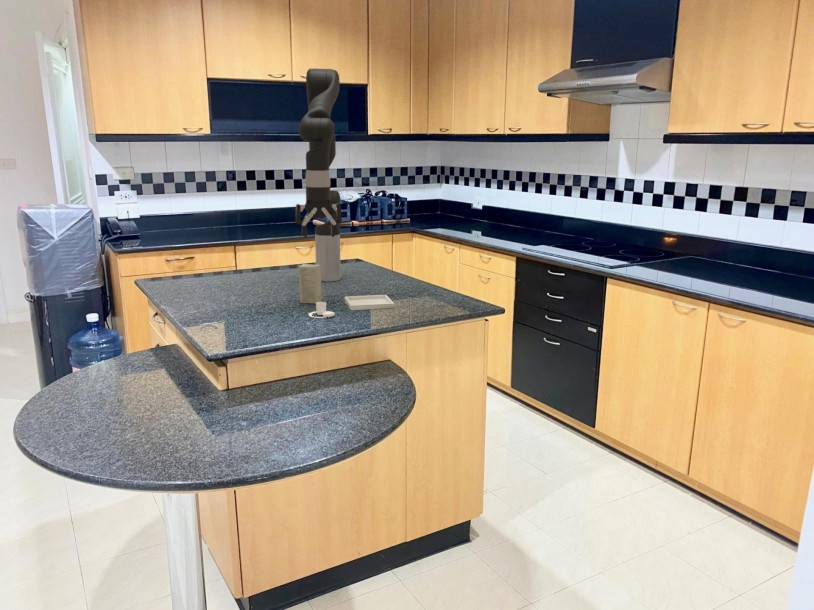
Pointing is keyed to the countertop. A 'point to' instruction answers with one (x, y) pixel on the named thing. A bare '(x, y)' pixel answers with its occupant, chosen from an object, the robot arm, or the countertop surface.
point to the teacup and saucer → (322, 310)
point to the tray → (369, 302)
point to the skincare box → (310, 283)
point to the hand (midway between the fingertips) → (319, 237)
